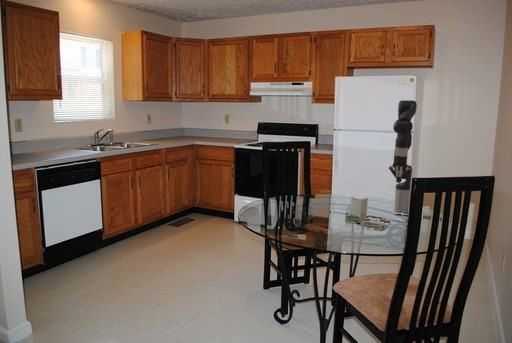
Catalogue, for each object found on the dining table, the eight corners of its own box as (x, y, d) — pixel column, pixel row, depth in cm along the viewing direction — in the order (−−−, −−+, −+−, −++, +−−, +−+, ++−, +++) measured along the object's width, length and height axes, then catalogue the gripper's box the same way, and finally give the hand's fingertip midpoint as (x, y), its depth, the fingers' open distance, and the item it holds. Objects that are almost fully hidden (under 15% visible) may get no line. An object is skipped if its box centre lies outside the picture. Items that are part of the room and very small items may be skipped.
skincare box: (349, 221, 255) (350, 196, 253) (355, 219, 260) (356, 195, 257) (360, 224, 249) (361, 198, 247) (366, 222, 253) (368, 197, 251)
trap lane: (357, 216, 268) (357, 210, 267) (393, 222, 254) (393, 215, 254) (341, 223, 248) (342, 217, 248) (380, 230, 235) (380, 223, 234)
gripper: (413, 154, 244) (411, 182, 248) (391, 152, 251) (389, 179, 255) (411, 156, 238) (408, 185, 242) (388, 154, 244) (385, 182, 248)
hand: (398, 182), depth 248 cm, fingers closed
